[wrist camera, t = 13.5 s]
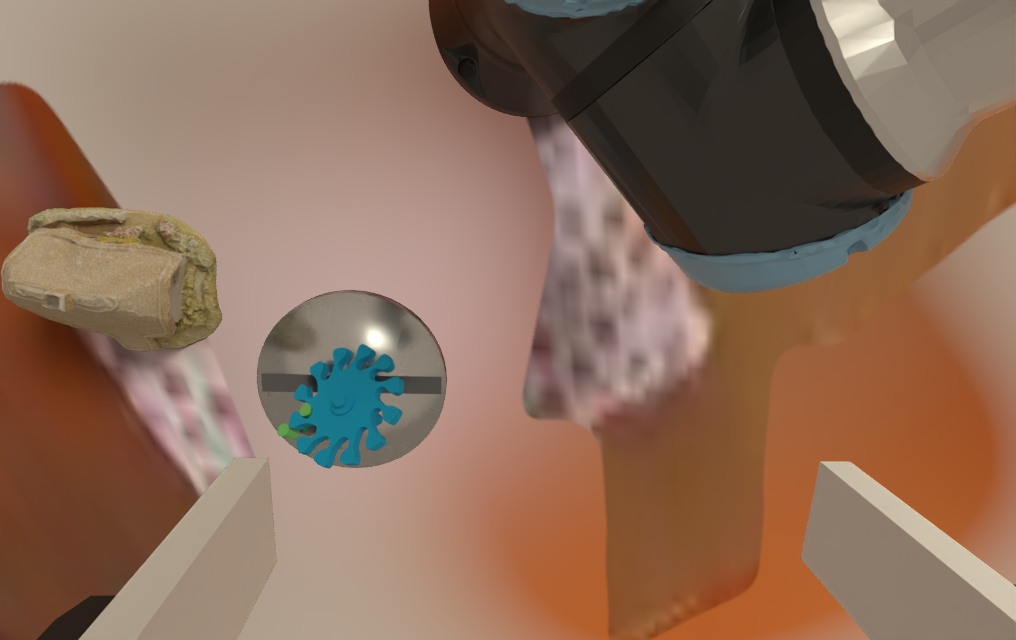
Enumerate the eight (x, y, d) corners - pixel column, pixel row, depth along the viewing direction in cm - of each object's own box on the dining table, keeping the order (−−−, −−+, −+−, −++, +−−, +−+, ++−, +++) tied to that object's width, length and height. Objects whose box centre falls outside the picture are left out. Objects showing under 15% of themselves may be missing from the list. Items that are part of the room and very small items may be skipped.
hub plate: (255, 287, 46) (249, 290, 45) (447, 292, 47) (447, 295, 46) (268, 460, 50) (263, 467, 48) (445, 461, 51) (445, 468, 50)
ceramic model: (236, 229, 45) (170, 244, 35) (218, 356, 47) (151, 403, 38) (52, 185, 43) (-71, 187, 33) (43, 319, 46) (-73, 357, 36)
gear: (389, 324, 44) (403, 442, 39) (421, 351, 49) (438, 459, 44) (272, 367, 46) (272, 485, 41) (315, 389, 51) (319, 497, 46)
